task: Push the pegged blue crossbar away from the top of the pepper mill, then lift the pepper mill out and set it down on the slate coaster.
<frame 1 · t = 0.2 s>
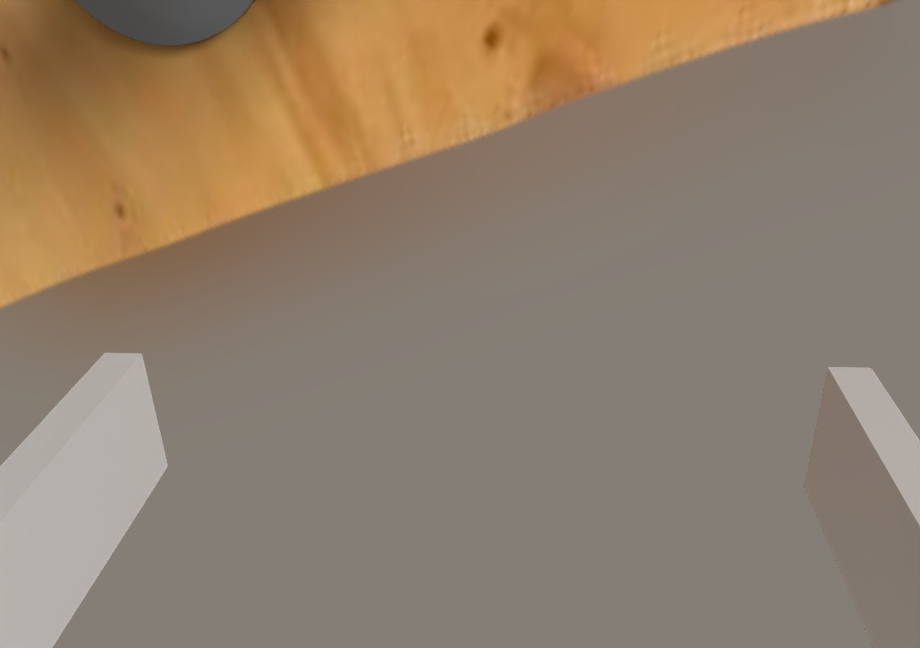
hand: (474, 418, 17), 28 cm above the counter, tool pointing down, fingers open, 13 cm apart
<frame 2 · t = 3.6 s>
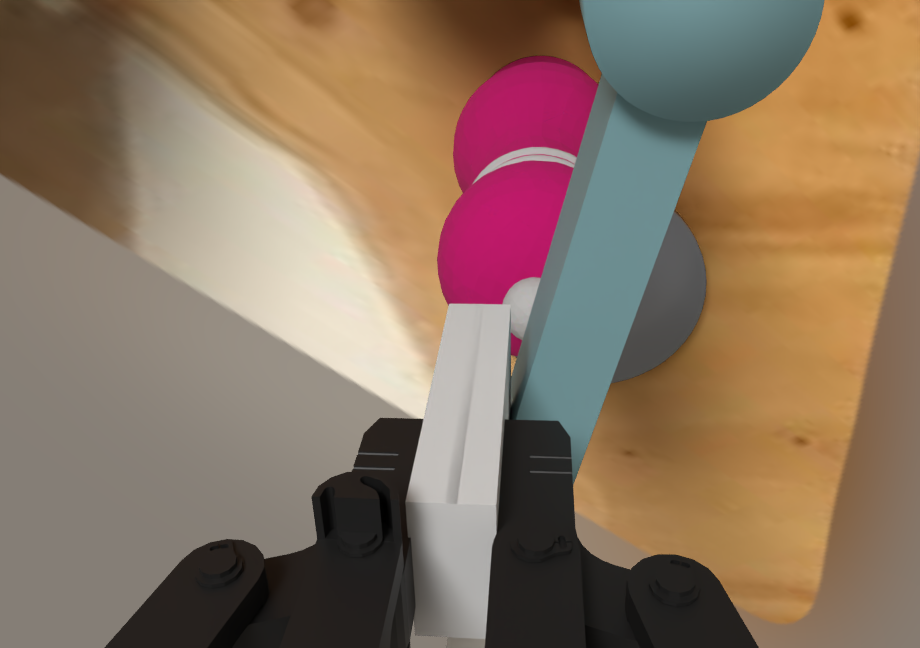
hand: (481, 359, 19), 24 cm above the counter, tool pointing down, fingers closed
pegged blue crossbar: (593, 309, 16), point 25 cm above the counter, hinge at 2.3°, touching gripper
slate coaster: (592, 284, 43), on the counter
pepper mill: (539, 122, 40), on the counter
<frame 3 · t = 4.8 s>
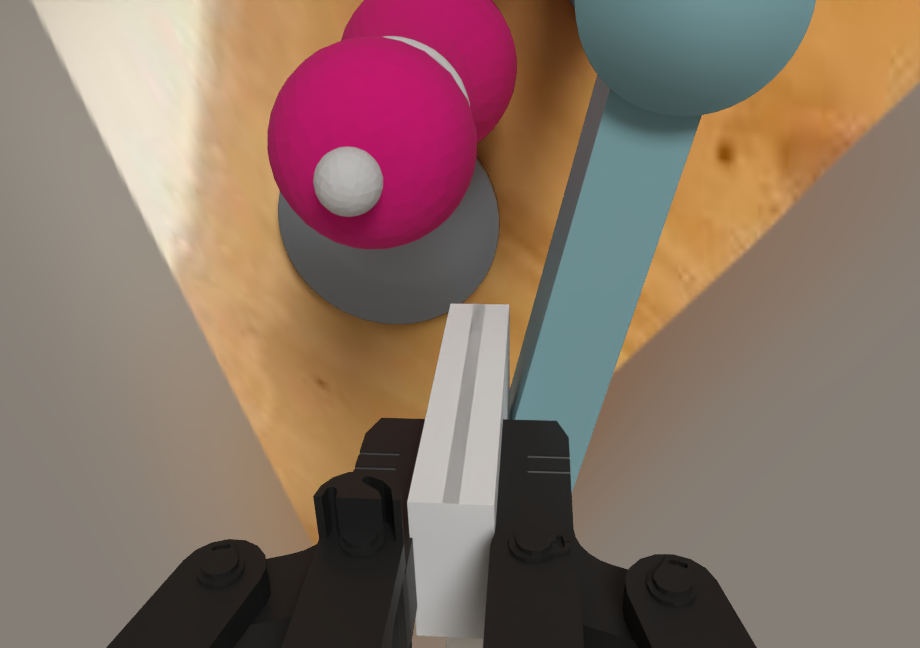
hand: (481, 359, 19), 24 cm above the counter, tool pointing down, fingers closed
pegged blue crossbar: (591, 307, 16), point 25 cm above the counter, hinge at 41.8°, touching gripper
slate coaster: (390, 219, 43), on the counter
pepper mill: (441, 48, 39), on the counter
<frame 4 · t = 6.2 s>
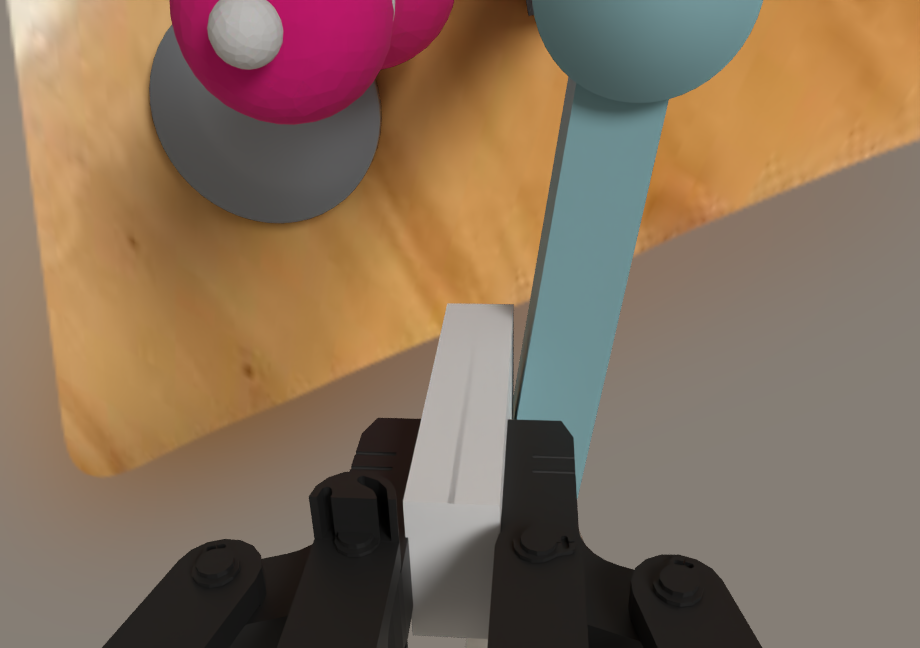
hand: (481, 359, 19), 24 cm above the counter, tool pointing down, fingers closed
pegged blue crossbar: (580, 298, 16), point 25 cm above the counter, hinge at 71.7°, touching gripper
slate coaster: (268, 109, 41), on the counter
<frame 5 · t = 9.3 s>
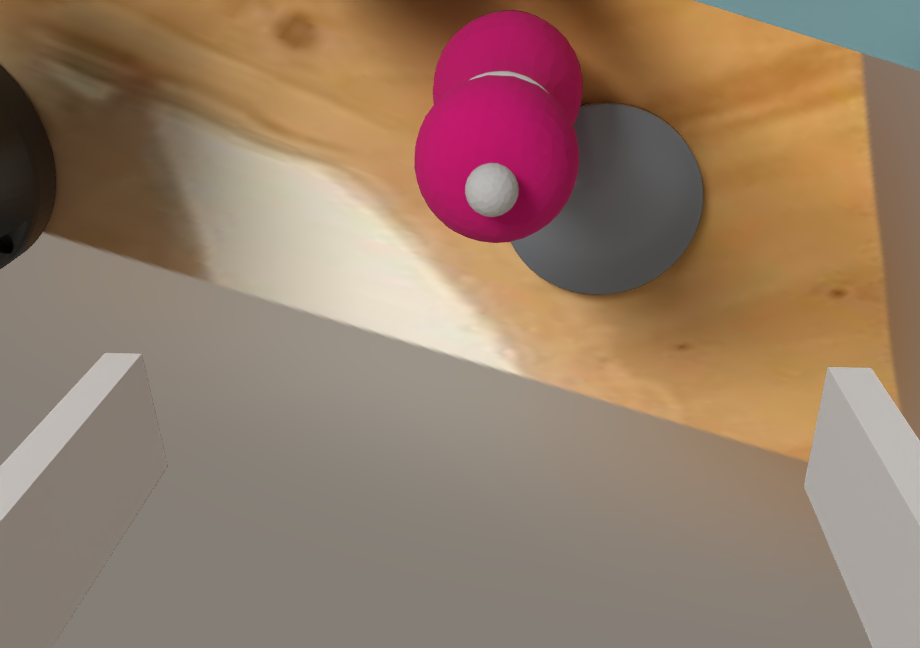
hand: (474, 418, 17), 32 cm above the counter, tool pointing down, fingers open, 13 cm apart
slate coaster: (600, 200, 48), on the counter
pepper mill: (510, 71, 45), on the counter
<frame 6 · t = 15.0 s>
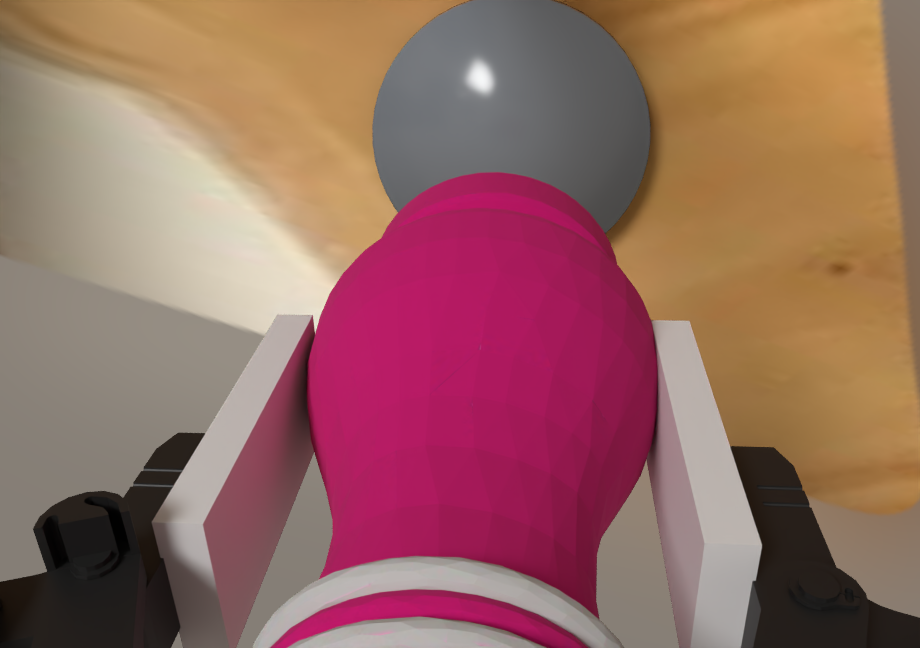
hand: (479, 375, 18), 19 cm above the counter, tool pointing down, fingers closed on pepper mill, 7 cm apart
slate coaster: (510, 137, 35), on the counter
pepper mill: (494, 285, 22), point 14 cm above the counter, touching gripper
when the fingers open (7 cm above the counter, at t = 17.5 s): pepper mill drops 2 cm, resting on slate coaster.
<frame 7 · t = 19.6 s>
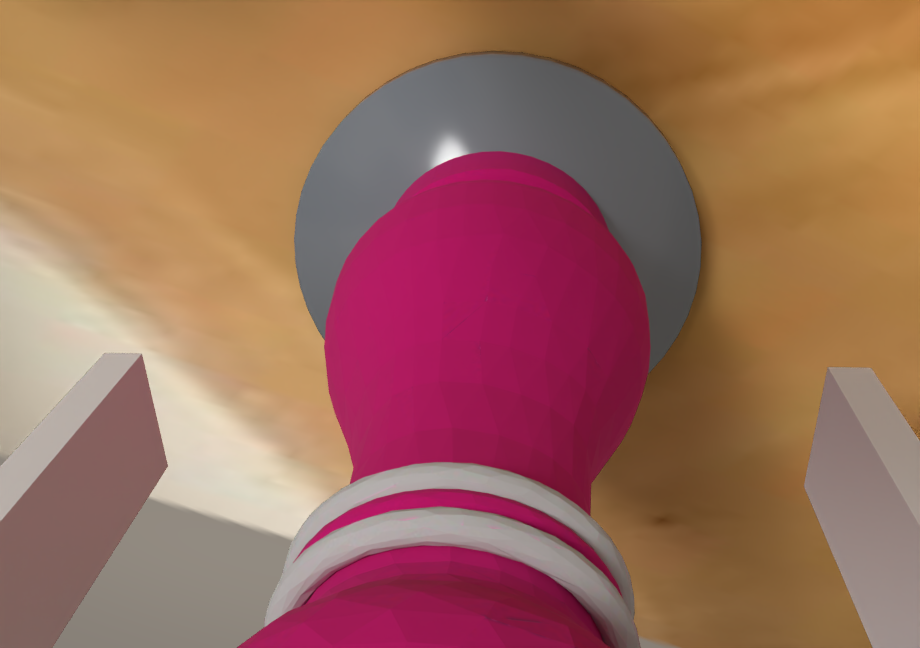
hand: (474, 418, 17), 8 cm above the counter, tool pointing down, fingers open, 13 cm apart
slate coaster: (495, 253, 24), on the counter
pepper mill: (496, 259, 23), point 1 cm above the counter, touching slate coaster
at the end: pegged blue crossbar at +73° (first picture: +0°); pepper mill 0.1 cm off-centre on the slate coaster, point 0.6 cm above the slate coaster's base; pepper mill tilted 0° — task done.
